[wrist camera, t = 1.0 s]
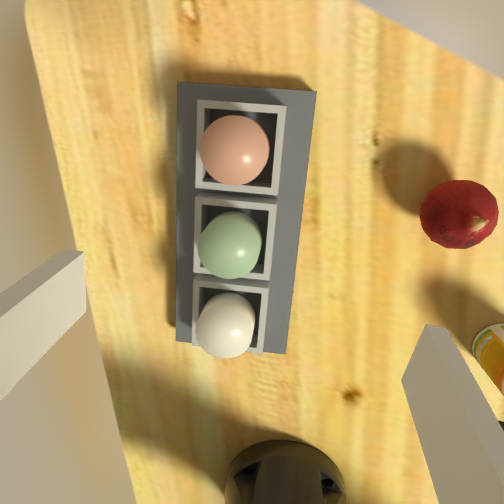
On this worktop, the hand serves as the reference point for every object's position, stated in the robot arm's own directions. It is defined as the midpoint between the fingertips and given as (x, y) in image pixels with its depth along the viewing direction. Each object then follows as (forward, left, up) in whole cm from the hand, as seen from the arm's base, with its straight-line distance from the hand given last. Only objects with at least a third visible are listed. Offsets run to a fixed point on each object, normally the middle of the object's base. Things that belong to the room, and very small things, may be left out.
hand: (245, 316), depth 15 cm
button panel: (-3, +3, -24) cm, 25 cm away
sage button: (-3, +3, -20) cm, 20 cm away
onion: (+1, -16, -24) cm, 29 cm away
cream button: (-11, +3, -20) cm, 23 cm away
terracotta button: (+5, +3, -20) cm, 21 cm away
